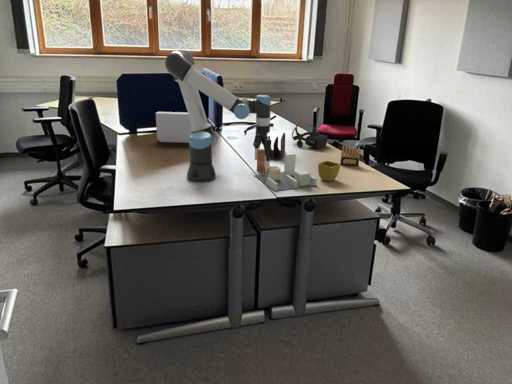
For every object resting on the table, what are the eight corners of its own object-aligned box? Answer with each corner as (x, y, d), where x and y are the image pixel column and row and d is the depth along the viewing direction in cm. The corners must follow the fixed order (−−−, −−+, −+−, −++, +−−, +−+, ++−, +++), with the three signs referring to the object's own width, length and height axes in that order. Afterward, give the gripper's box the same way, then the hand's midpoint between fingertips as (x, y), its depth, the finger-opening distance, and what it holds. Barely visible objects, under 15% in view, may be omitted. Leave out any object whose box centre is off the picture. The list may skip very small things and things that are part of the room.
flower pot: (339, 180, 226) (341, 163, 222) (330, 183, 220) (332, 167, 216) (325, 176, 231) (326, 160, 228) (316, 179, 225) (317, 163, 222)
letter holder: (285, 152, 275) (286, 131, 270) (281, 161, 256) (282, 138, 251) (269, 151, 276) (270, 130, 271) (265, 160, 258) (265, 137, 253)
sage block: (283, 175, 229) (284, 153, 225) (293, 173, 231) (294, 152, 227) (299, 186, 213) (300, 163, 209) (309, 184, 216) (311, 162, 211)
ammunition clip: (358, 165, 250) (360, 146, 246) (358, 166, 249) (360, 146, 244) (340, 164, 252) (342, 144, 248) (340, 165, 251) (341, 145, 246)
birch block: (255, 170, 235) (256, 149, 231) (265, 169, 237) (266, 148, 233) (269, 181, 219) (270, 158, 215) (280, 179, 222) (281, 157, 217)
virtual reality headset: (315, 153, 280) (319, 131, 273) (285, 143, 292) (288, 122, 285) (328, 147, 294) (332, 127, 288) (299, 138, 306) (303, 118, 300)
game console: (196, 143, 291) (195, 114, 284) (157, 142, 292) (155, 113, 285) (198, 141, 297) (197, 112, 290) (159, 140, 297) (157, 111, 290)
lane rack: (254, 176, 229) (254, 168, 227) (293, 171, 238) (294, 164, 236) (274, 191, 207) (274, 184, 206) (316, 185, 216) (317, 178, 215)
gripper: (279, 129, 217) (277, 168, 224) (260, 119, 238) (259, 156, 246) (266, 130, 214) (264, 170, 221) (247, 120, 235) (247, 157, 243)
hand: (261, 163), depth 234 cm, fingers open, 13 cm apart
